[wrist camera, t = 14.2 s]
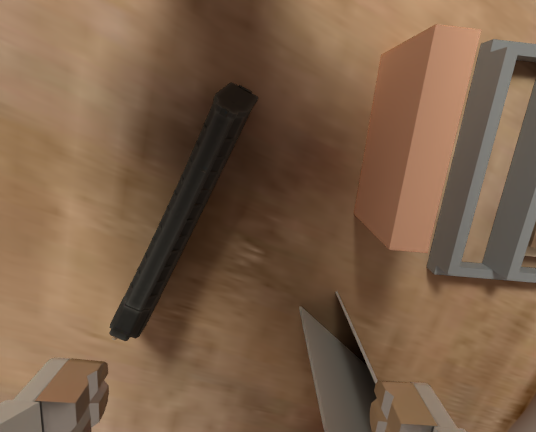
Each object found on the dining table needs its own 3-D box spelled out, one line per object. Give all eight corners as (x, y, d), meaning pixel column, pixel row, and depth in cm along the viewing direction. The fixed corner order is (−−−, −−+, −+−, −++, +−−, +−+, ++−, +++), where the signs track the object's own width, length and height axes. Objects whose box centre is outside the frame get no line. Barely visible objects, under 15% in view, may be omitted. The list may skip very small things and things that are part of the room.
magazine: (236, 42, 28) (64, 378, 26) (271, 62, 28) (104, 394, 26) (228, 107, 45) (124, 313, 43) (250, 119, 45) (148, 323, 43)
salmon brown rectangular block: (380, 55, 36) (436, 24, 25) (412, 58, 37) (481, 29, 25) (353, 213, 41) (389, 249, 30) (381, 216, 41) (427, 252, 30)
